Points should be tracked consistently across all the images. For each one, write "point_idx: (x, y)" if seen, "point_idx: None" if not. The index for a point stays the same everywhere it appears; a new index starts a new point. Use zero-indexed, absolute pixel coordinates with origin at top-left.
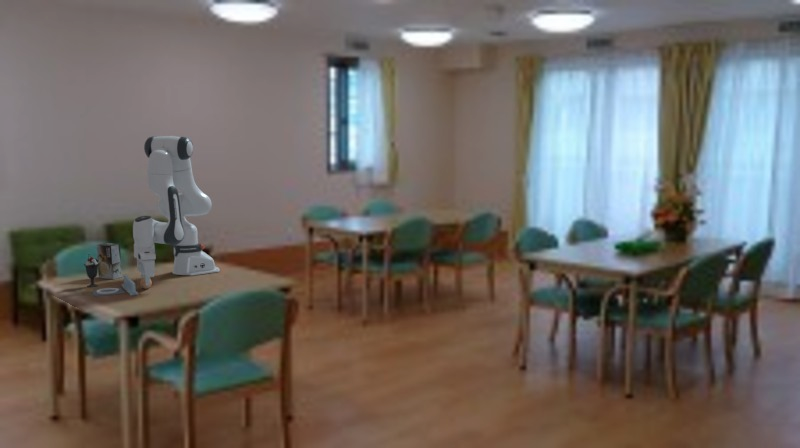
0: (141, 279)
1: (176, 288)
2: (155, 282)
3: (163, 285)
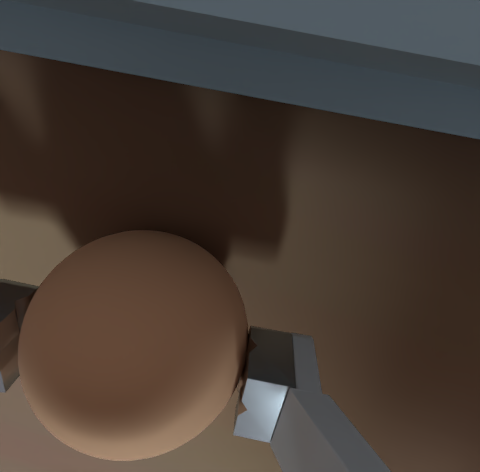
0: (122, 334)
1: (19, 460)
2: (451, 464)
3: (229, 451)
